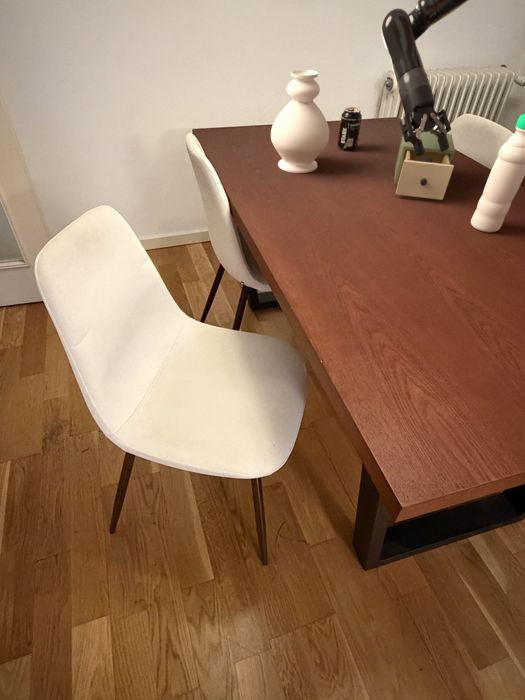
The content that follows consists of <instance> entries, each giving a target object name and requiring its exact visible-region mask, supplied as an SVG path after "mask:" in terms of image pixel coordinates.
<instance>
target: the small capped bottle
mask: <svg viewBox="0 0 525 700" xmlns="http://www.w3.org/2000/svg"><path fill="white" fill-rule="evenodd" d="M419 161H421V162H430V163H432V162H433V160H432V159H431V158H427V157H423V158H420V160H419Z"/></svg>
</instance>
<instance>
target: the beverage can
mask: <svg viewBox="0 0 525 700" xmlns="http://www.w3.org/2000/svg"><path fill="white" fill-rule="evenodd" d="M361 112H362V109H361V108H359V107H355V106H354V107H353V106H347V107H344V108H343V112H341V115H340V121H339V129H338V137H337V144H336V145H337V147H338V148H339V149H340V150H342V151H353V150H354V149H356V148H357V147H358V142H359V136H360V131H361V124H362V118H363V114H362V113H361Z"/></svg>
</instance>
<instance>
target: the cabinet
mask: <svg viewBox="0 0 525 700" xmlns="http://www.w3.org/2000/svg"><path fill="white" fill-rule="evenodd" d="M408 135H409V133H408ZM446 136H447V140H448V143H449V148H448V149H447V150H446V151H444V152H441V150H440V147H439V143H438V140H437V139H438V138H437V137H436V136H435V135H434V134H431V133H430V132H423V133H421V137H420V139H421V140H422V143H423V146H424V150H425V151H426V152H436V153H446V154H448V157H449V163H450V164H449V165H452V162H453V158H454V156H455V153H456V149H455V143H454V138H453V134H452V133H447V134H446ZM406 150H414V147H413V144H411V142H405V141H404V137H403V135H402V136H401V141H400V145H399V150H398V154H397V158H396V162H395V167H394V178H393V185H395V186H398V182H399V178H400V173H401V169H402V165H403V161H404V157H405V153H406Z"/></svg>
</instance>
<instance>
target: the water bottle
mask: <svg viewBox="0 0 525 700" xmlns="http://www.w3.org/2000/svg"><path fill="white" fill-rule="evenodd" d="M524 179H525V113H523V114H520V116H518V119H517V121H516V124H515V132H514V133H513V134H512V135H511V136H510V137H509V138H508V140H507V141H506V142H505V143H504V144H502V146H501V147H500V148H499V150H498V154H497V158H496V159H495V162H494V164H493V166H492V167H491V170H490V173H489V176H488V177H487V181H486V183H485V186H484V188H483V192H482V194H481V196H480V198H479V200H478V202H477V205H476V209H475V211H474V212H473V215H472V217H471V219H470V225H471V226H472V227H473V228H474V229H475V230H477V231H480V232H483V233H495V232H497V231H499V230H500V229H501V228H502V226H503V223H504V221H505V218H506V215H507V214H508V212H509V211H510V209H511V206H512V202H513V200H514V198H515V197H516V195H517V193H518V191H519V189H520V187H521V185H522V182H523V181H524Z"/></svg>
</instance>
